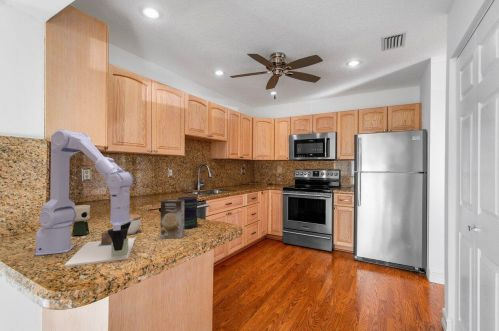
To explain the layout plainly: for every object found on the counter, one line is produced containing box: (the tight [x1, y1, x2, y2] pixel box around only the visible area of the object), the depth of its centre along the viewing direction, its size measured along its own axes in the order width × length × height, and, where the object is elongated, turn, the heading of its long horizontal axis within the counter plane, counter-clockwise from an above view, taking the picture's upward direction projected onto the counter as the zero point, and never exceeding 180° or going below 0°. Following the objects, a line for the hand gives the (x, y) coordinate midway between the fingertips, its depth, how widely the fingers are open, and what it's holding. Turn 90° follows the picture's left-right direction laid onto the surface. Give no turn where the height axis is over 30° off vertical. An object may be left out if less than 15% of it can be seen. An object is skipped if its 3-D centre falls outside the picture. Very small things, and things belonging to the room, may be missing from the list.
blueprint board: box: [63, 237, 136, 268], centre depth 86 cm, size 18×24×1 cm
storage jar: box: [177, 196, 198, 230], centre depth 121 cm, size 10×10×15 cm
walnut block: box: [100, 229, 112, 245], centre depth 93 cm, size 4×4×4 cm
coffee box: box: [159, 198, 185, 239], centre depth 105 cm, size 9×6×16 cm
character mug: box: [71, 204, 91, 236], centre depth 108 cm, size 11×7×13 cm, turn 179°
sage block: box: [111, 237, 129, 257], centre depth 81 cm, size 4×4×4 cm
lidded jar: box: [127, 213, 142, 236], centre depth 110 cm, size 11×11×9 cm
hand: (120, 246), depth 81 cm, fingers open, 7 cm apart
